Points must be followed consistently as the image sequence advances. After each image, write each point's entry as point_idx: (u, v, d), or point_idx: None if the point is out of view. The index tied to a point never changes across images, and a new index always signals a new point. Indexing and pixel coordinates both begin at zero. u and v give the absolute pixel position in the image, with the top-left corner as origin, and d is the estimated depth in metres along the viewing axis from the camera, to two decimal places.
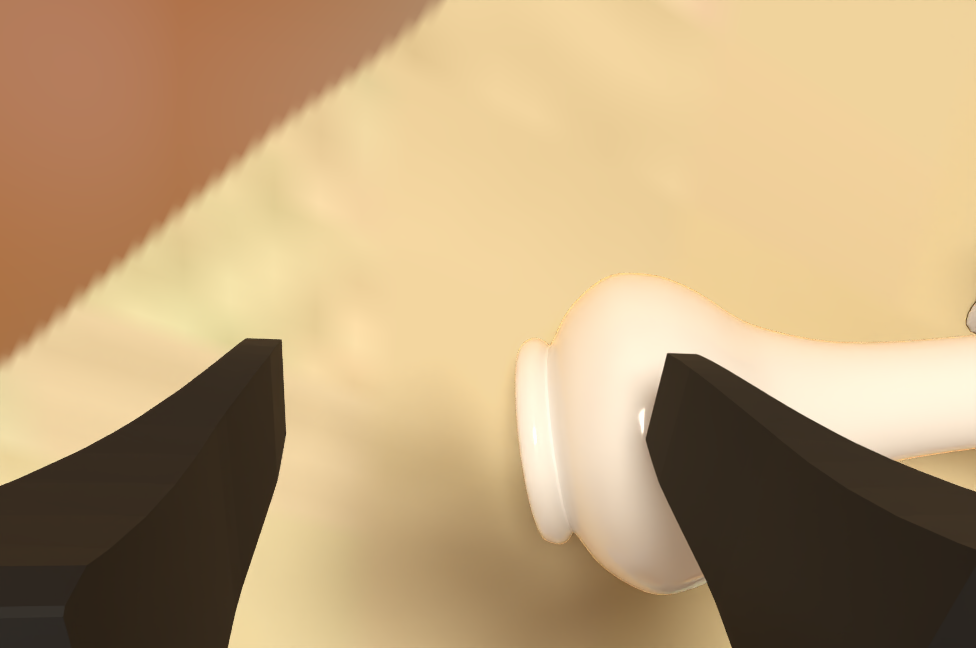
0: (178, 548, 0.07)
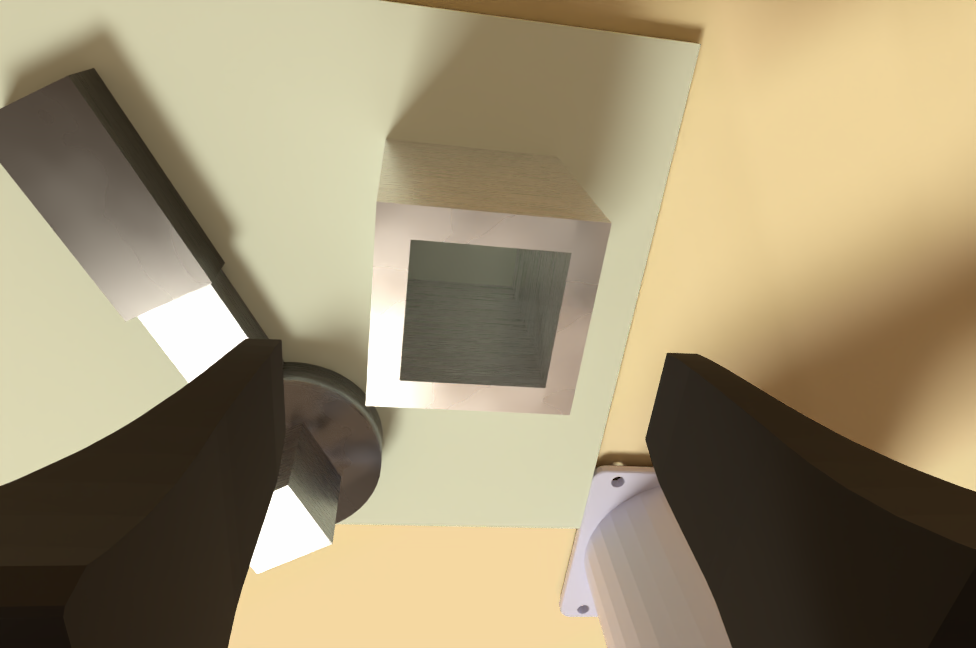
0: (178, 548, 0.07)
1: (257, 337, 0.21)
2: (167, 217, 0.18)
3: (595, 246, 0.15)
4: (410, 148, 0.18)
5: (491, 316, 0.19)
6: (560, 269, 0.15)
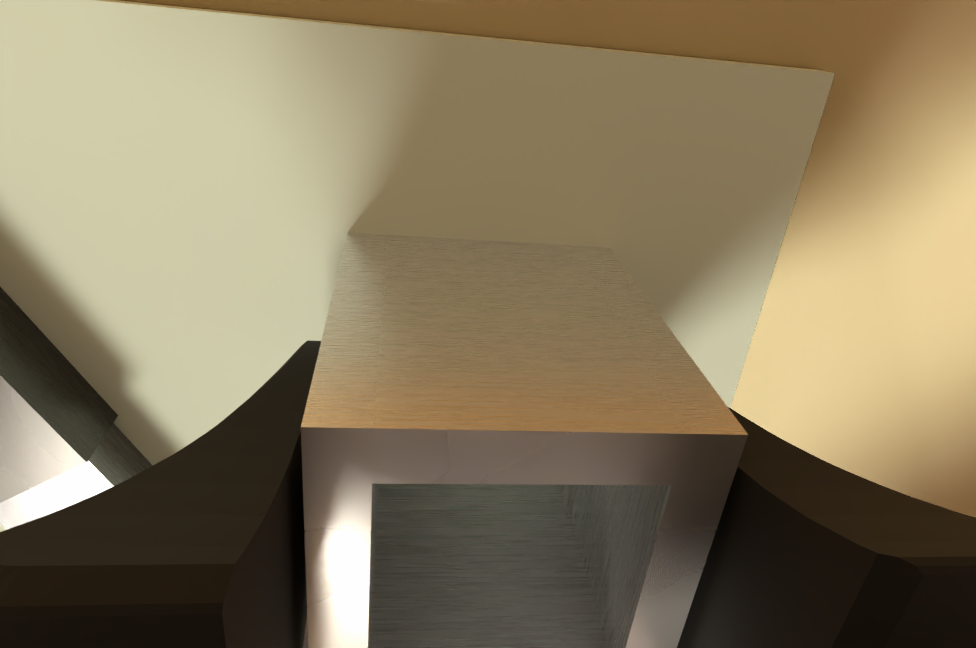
0: (281, 547, 0.07)
1: None
2: (2, 375, 0.11)
3: (715, 472, 0.08)
4: (384, 253, 0.12)
5: (516, 496, 0.13)
6: (644, 493, 0.09)
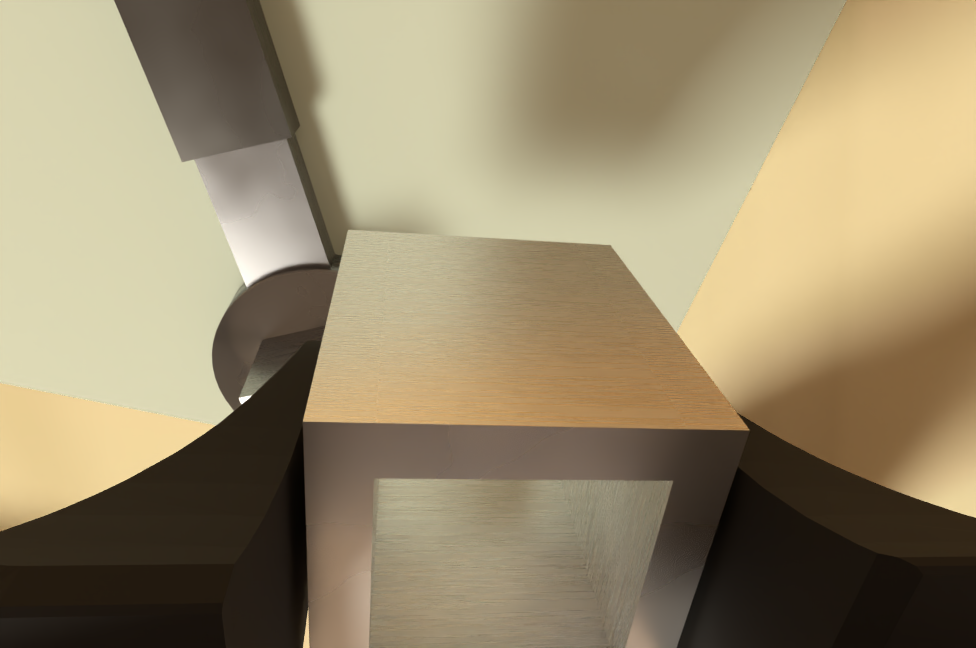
0: (280, 546, 0.07)
1: (317, 216, 0.19)
2: (262, 48, 0.16)
3: (717, 468, 0.08)
4: (385, 249, 0.12)
5: (517, 493, 0.13)
6: (646, 489, 0.09)
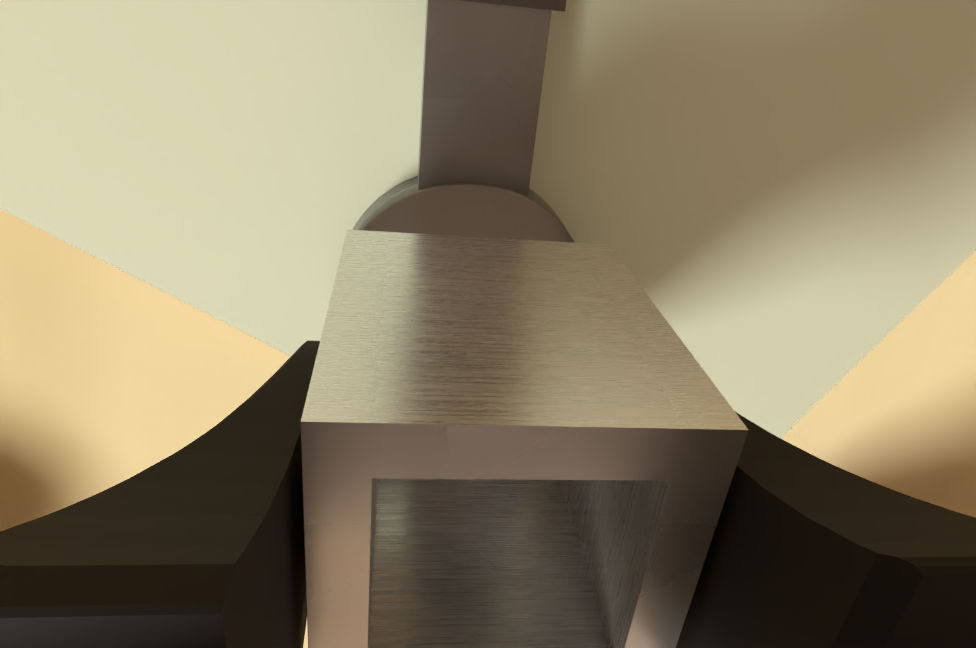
0: (281, 546, 0.07)
1: None
2: None
3: (715, 468, 0.08)
4: (383, 249, 0.12)
5: (516, 493, 0.13)
6: (645, 488, 0.09)
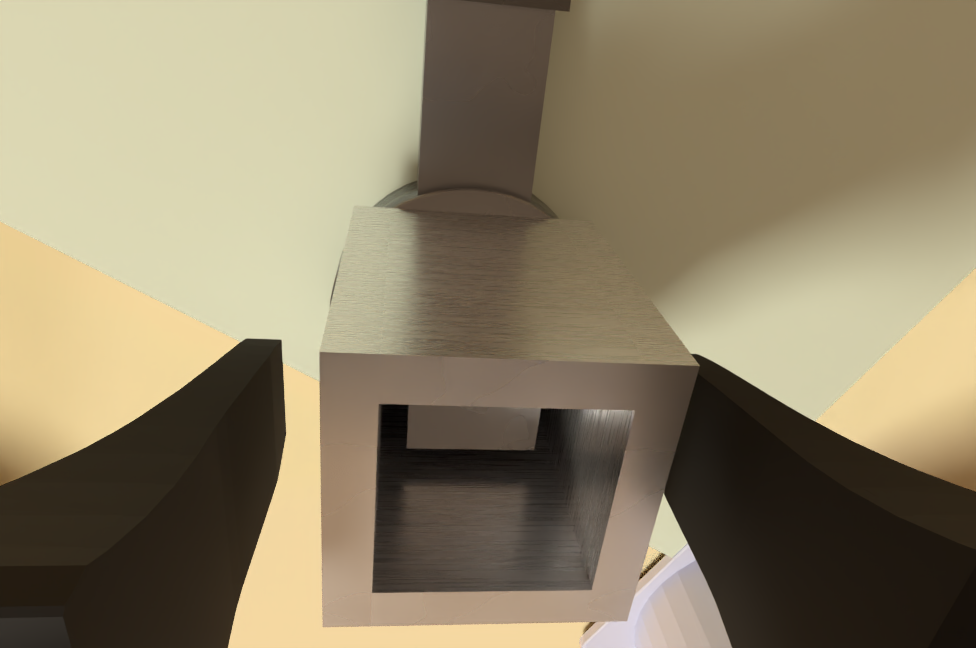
0: (178, 547, 0.07)
1: None
2: None
3: (672, 399, 0.09)
4: (387, 222, 0.13)
5: None
6: (614, 423, 0.10)
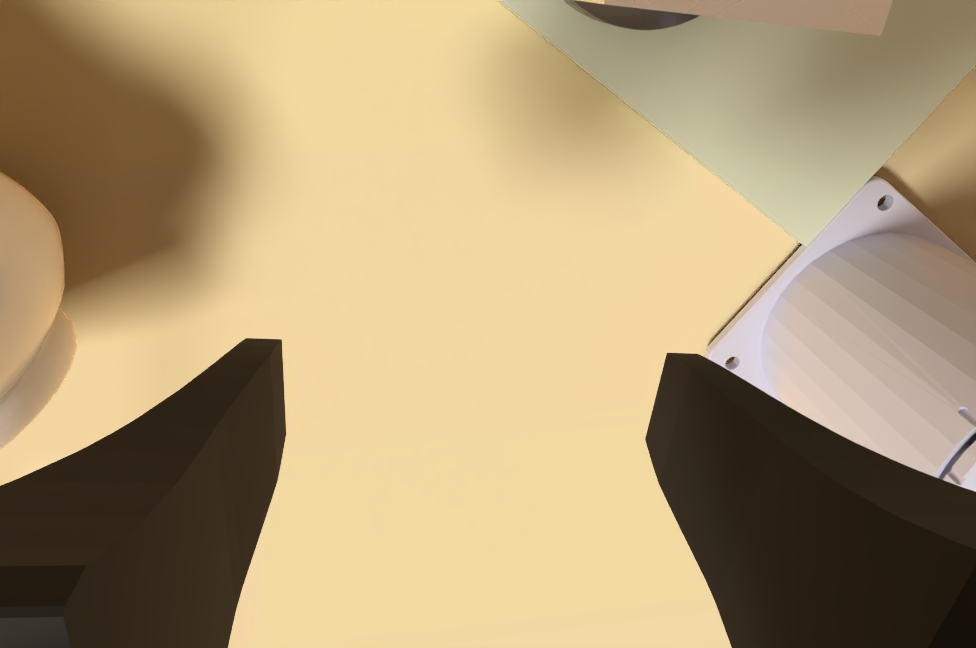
0: (179, 547, 0.07)
1: None
2: None
3: None
4: None
5: None
6: None
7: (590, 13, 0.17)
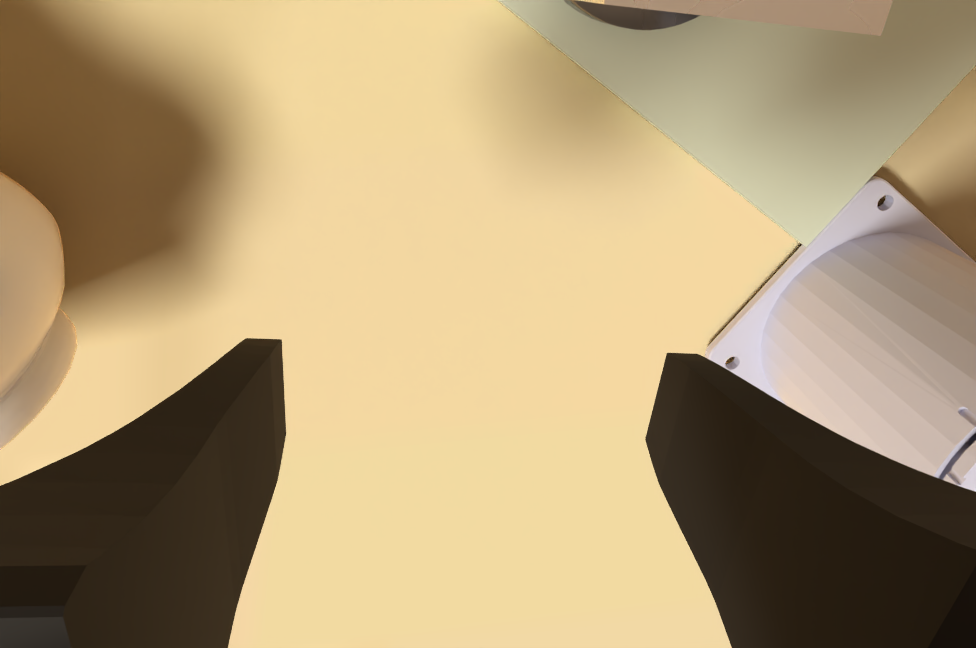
0: (179, 547, 0.07)
1: None
2: None
3: None
4: None
5: None
6: None
7: (590, 13, 0.17)
